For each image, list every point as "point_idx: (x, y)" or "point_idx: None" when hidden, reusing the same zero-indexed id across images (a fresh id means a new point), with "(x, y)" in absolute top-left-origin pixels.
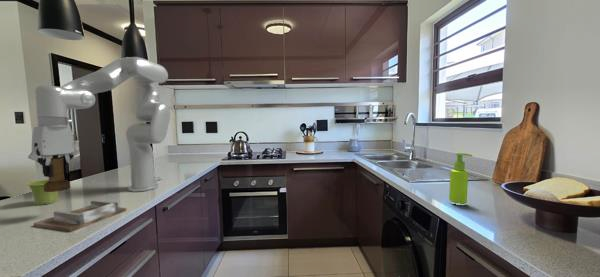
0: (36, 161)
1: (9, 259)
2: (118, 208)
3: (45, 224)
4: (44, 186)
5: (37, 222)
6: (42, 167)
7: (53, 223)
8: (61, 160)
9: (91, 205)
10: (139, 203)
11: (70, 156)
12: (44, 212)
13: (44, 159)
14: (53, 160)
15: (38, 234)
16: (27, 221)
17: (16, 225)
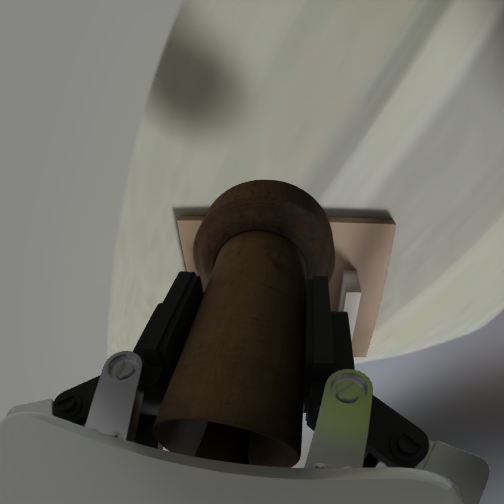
0: (70, 390)
1: (111, 341)
2: (360, 342)
3: (188, 270)
4: (193, 249)
5: (185, 226)
6: (136, 344)
7: (203, 284)
8: (254, 452)
9: (344, 281)
10: (432, 333)
11: (373, 467)
12: (283, 70)
13: (124, 416)
14: (188, 445)
15: (164, 291)
16: (193, 135)
17: (159, 147)
